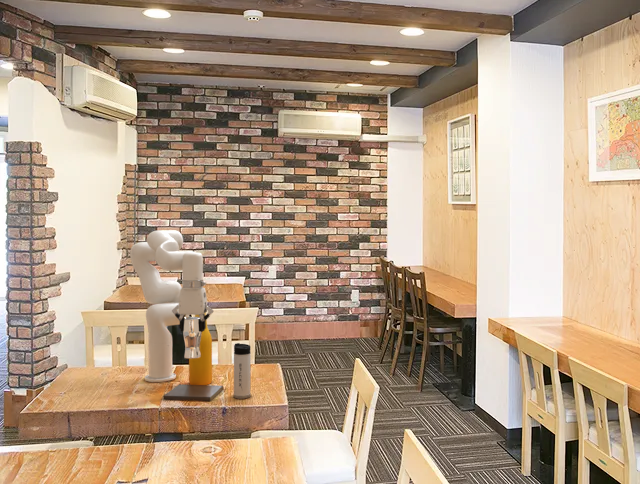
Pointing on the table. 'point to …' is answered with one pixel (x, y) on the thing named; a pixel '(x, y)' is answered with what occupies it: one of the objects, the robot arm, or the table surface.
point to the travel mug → (242, 371)
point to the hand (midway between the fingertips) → (192, 330)
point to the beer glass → (192, 337)
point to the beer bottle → (202, 361)
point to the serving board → (193, 392)
